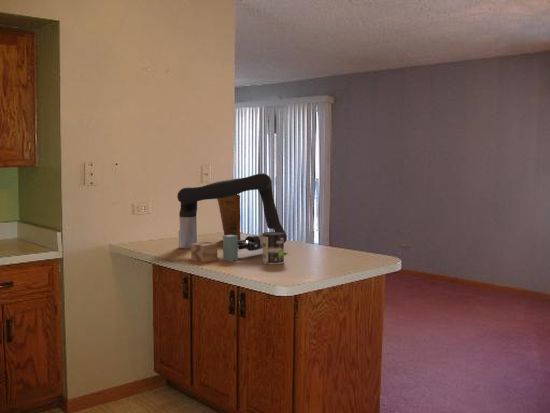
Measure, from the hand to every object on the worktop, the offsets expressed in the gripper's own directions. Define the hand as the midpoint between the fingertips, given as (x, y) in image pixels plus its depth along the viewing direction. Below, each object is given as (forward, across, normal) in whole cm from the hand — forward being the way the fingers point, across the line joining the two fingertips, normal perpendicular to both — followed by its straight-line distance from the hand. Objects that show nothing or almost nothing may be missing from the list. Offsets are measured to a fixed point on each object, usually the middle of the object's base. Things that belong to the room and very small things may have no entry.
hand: (232, 246), depth 277 cm
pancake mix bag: (-40, -44, +7) cm, 60 cm away
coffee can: (-7, +20, +7) cm, 22 cm away
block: (+10, -10, +6) cm, 15 cm away
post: (+2, 0, +6) cm, 7 cm away
